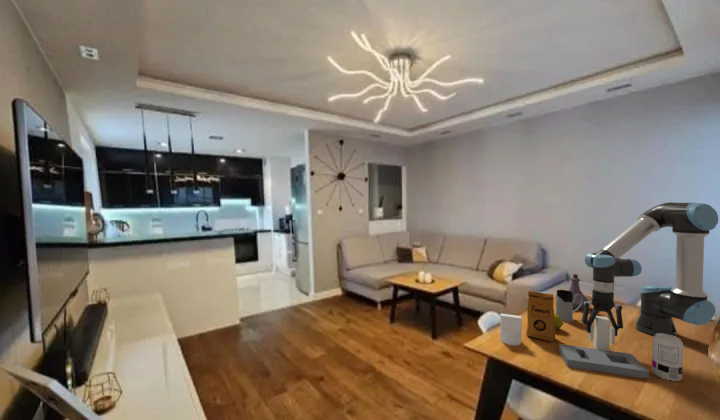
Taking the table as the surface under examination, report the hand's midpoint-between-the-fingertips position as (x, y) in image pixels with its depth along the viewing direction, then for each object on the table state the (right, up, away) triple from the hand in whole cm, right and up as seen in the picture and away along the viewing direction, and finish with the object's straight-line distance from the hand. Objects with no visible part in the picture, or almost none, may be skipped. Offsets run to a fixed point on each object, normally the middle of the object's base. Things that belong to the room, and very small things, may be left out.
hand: (601, 341), depth 141 cm
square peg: (0, -3, 0) cm, 3 cm away
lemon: (-9, -3, +23) cm, 24 cm away
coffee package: (-20, -3, +12) cm, 24 cm away
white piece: (-36, -3, +8) cm, 38 cm away
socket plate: (-10, -4, -12) cm, 16 cm away
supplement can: (+8, -5, -21) cm, 23 cm away
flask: (+24, -1, +53) cm, 58 cm away
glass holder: (+9, -2, +35) cm, 36 cm away
